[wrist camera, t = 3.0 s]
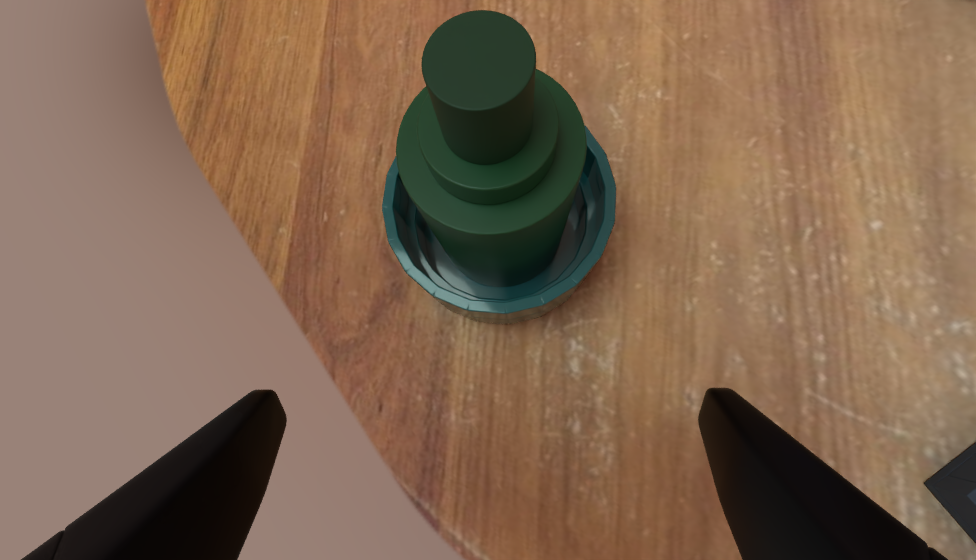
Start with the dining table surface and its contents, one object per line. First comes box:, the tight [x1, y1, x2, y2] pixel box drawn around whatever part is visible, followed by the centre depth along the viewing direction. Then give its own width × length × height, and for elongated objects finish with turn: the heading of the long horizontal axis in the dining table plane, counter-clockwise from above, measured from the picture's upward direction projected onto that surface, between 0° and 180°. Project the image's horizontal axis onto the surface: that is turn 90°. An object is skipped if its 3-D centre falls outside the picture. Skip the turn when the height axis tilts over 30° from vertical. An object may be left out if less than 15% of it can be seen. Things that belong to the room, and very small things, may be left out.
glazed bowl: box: [382, 125, 616, 324], centre depth 21 cm, size 10×10×5 cm
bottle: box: [396, 10, 587, 287], centre depth 17 cm, size 6×6×13 cm
